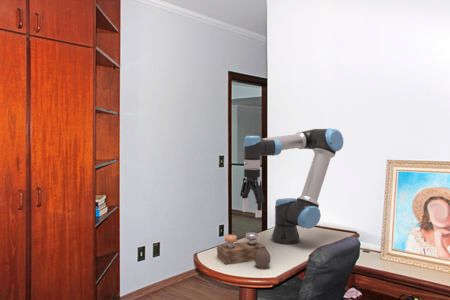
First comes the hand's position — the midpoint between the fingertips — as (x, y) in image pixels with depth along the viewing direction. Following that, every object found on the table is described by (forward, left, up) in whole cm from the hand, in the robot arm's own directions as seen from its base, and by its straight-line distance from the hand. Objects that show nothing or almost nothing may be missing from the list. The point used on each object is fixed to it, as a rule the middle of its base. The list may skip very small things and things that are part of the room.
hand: (251, 214), depth 171 cm
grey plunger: (0, 0, -16) cm, 16 cm away
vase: (+2, +13, -21) cm, 24 cm away
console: (+5, 0, -20) cm, 21 cm away
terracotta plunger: (+11, 0, -16) cm, 19 cm away
